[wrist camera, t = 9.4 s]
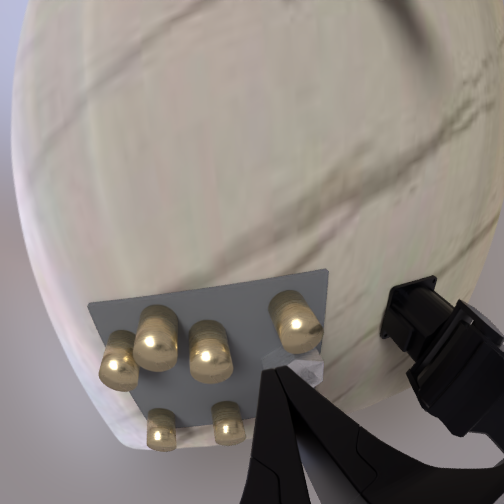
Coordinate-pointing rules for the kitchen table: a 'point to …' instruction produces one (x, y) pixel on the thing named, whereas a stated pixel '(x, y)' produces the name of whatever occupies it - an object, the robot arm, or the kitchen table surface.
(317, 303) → the mat
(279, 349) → the clear faceted crystal
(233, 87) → the kitchen table surface
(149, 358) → the brass spacers
